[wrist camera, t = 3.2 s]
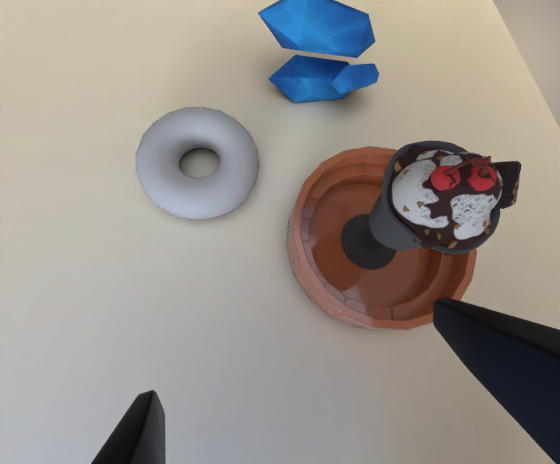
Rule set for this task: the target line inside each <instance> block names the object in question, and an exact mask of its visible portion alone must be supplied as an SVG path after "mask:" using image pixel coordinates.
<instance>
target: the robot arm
mask: <svg viewBox="0 0 560 464" xmlns="http://www.w3.org/2000/svg"><path fill="white" fill-rule="evenodd" d="M433 324H434V326H435V328H436V329H437V330H438V332H439V333H440V334H441V335H442V337H443V338H444V339H445V341H446V342H447V343H448V344H449V346H450V347H451V348H452V350H453V351H454V352H455V353H456V355H457V356H458V357H459V359H460V360H461V361H462V362H463V364H464V365H465V366H466V367H467V368H468V369H469V371H470V372H471V373H472V374H473V375H474V376H475V377H476V378H477V379H478V380H479V381H480V383H481V384H482V385H483V386H484V387H485V388H486V389H487V390H488V391H489V392H490V393H491V394H492V395H493V397H494V398H495V399H496V400H497V401H498V402H499V403H500V404H501V405H502V406H503V407H504V408H505V409H506V411H507V412H508V413H509V414H510V415H511V416H512V417H513V418H514V419H515V420H516V421H517V422H518V423H519V425H520V426H521V427H522V428H523V429H524V430H525V431H526V432H527V433H528V434H529V435H530V436H531V437H532V438H533V440H534V441H535V442H536V443H537V444H538V445H539V446H540V447H541V448H542V449H543V450H544V451H545V452H546V454H547V455H548V456H549V457H550V458H551V459H552V460H553V461H554V462H555V463H556V464H560V330H558V329H555V328H551V327H548V326H545V325H541V324H538V323H534V322H531V321H527V320H524V319H520V318H517V317H514V316H510V315H507V314H503V313H500V312H496V311H493V310H489V309H486V308H483V307H479V306H476V305H472V304H469V303H465V302H462V301H458V300H455V299H452V298H448V297H444V298H441V299H438V300H435V302H434V304H433ZM91 464H165V414H164V409H163V407H162V405H161V402H160V400H159V398H158V395H157V393H156V392H155V391H154V390H151V391H148V392H144V393H141V394H139V395H138V396H137V397H136V399H135V400H134V402H133V403H132V405H131V406H130V408H129V409H128V410H127V412H126V413H125V415H124V416H123V418H122V419H121V421H120V422H119V424H118V425H117V427H116V428H115V429H114V431H113V432H112V434H111V435H110V437H109V438H108V440H107V441H106V443H105V444H104V445H103V447H102V448H101V450H100V451H99V453H98V454H97V456H96V457H95V459H94V460H93V462H92V463H91Z"/></svg>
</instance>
